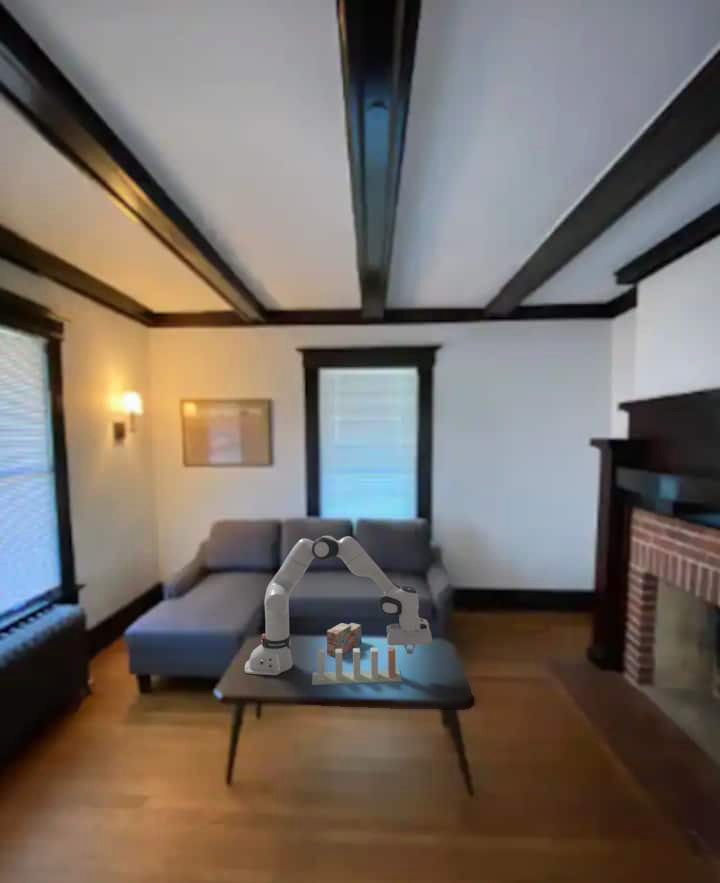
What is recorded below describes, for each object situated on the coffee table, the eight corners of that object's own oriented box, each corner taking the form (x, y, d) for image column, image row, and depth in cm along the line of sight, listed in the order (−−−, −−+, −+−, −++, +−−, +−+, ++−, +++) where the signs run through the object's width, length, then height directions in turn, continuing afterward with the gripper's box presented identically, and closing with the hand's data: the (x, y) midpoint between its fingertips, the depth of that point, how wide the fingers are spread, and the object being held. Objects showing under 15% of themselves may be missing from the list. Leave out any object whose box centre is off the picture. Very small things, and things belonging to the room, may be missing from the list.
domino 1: (317, 680, 213) (317, 653, 213) (318, 675, 217) (317, 649, 217) (324, 679, 213) (324, 653, 213) (324, 675, 217) (324, 649, 217)
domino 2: (335, 679, 213) (335, 652, 213) (335, 675, 217) (335, 648, 217) (342, 679, 213) (342, 652, 213) (342, 674, 217) (342, 648, 217)
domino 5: (388, 677, 215) (388, 651, 214) (387, 673, 219) (387, 647, 218) (395, 677, 215) (395, 650, 215) (394, 672, 219) (394, 646, 219)
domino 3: (353, 678, 214) (353, 652, 213) (353, 674, 218) (353, 648, 217) (360, 678, 214) (360, 652, 214) (359, 674, 218) (359, 648, 218)
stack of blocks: (352, 639, 256) (351, 616, 256) (361, 642, 252) (361, 619, 252) (326, 654, 239) (326, 630, 238) (336, 658, 235) (336, 633, 235)
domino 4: (371, 678, 214) (371, 651, 214) (370, 673, 218) (370, 647, 218) (378, 677, 214) (377, 651, 214) (377, 673, 218) (377, 647, 218)
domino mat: (311, 685, 210) (311, 683, 210) (312, 673, 220) (312, 672, 220) (402, 681, 212) (402, 680, 212) (399, 670, 222) (399, 669, 222)
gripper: (387, 627, 213) (387, 657, 213) (432, 625, 214) (432, 655, 215) (385, 621, 219) (386, 651, 220) (429, 619, 221) (429, 649, 221)
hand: (409, 653), depth 217 cm, fingers closed
